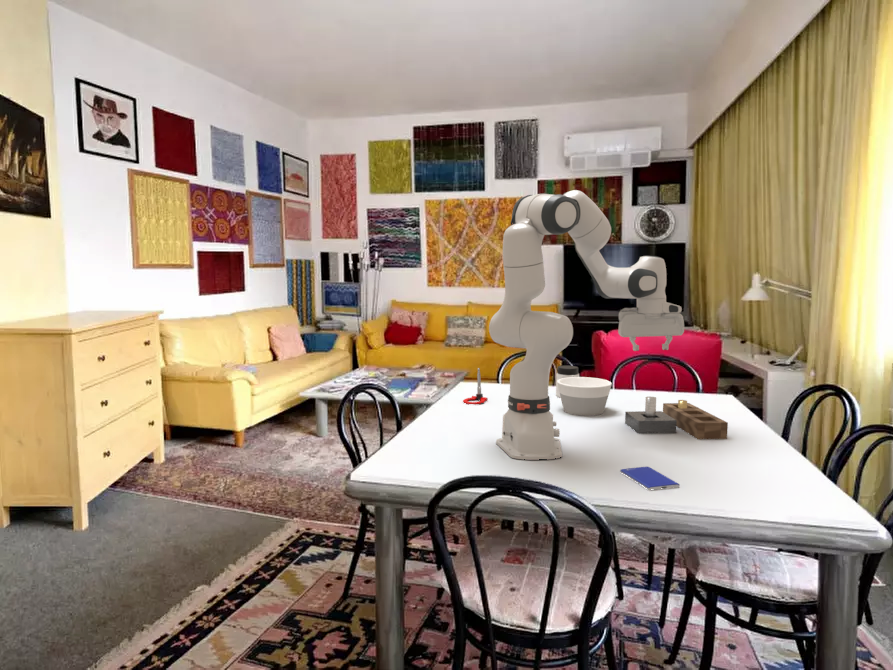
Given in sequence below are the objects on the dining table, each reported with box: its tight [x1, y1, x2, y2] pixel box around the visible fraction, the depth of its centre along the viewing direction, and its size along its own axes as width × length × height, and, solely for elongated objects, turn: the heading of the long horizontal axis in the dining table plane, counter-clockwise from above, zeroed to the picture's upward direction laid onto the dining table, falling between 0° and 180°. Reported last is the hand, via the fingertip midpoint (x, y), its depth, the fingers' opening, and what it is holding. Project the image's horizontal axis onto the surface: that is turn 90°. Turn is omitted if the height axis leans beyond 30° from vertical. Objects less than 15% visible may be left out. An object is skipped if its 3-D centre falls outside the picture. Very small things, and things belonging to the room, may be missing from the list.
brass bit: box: [677, 399, 688, 408], centre depth 197 cm, size 3×3×7 cm
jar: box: [555, 365, 580, 399], centre depth 236 cm, size 9×8×12 cm
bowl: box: [557, 376, 613, 417], centre depth 212 cm, size 19×19×11 cm
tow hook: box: [462, 367, 489, 405], centre depth 226 cm, size 8×13×9 cm
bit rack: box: [662, 402, 729, 440], centre depth 190 cm, size 26×9×5 cm, turn 2°
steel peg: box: [644, 396, 657, 418], centre depth 189 cm, size 3×3×10 cm
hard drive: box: [619, 466, 680, 491], centre depth 143 cm, size 2×8×12 cm
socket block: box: [624, 410, 677, 434], centre depth 189 cm, size 12×12×4 cm
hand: (650, 350), depth 189 cm, fingers open, 8 cm apart
